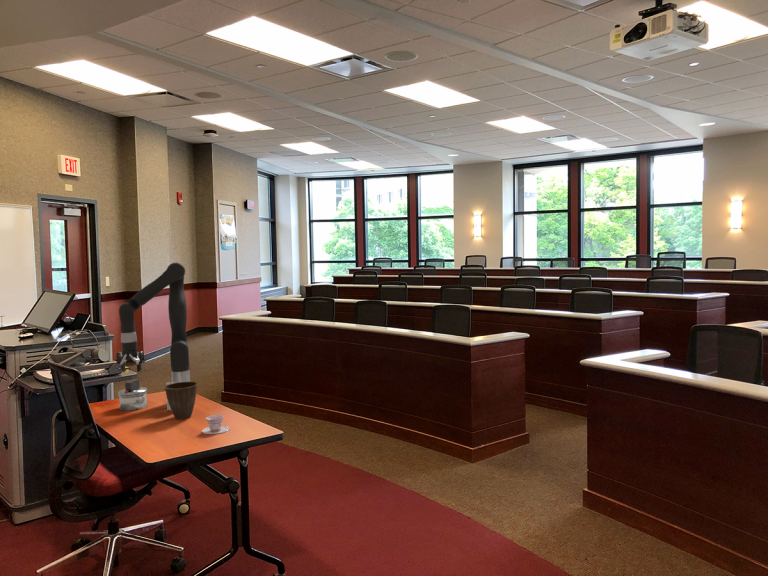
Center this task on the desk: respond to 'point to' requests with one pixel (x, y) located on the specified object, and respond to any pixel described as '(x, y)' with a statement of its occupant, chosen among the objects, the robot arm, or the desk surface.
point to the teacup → (215, 425)
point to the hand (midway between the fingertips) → (131, 371)
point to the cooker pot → (133, 402)
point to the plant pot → (181, 398)
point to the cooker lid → (132, 388)
